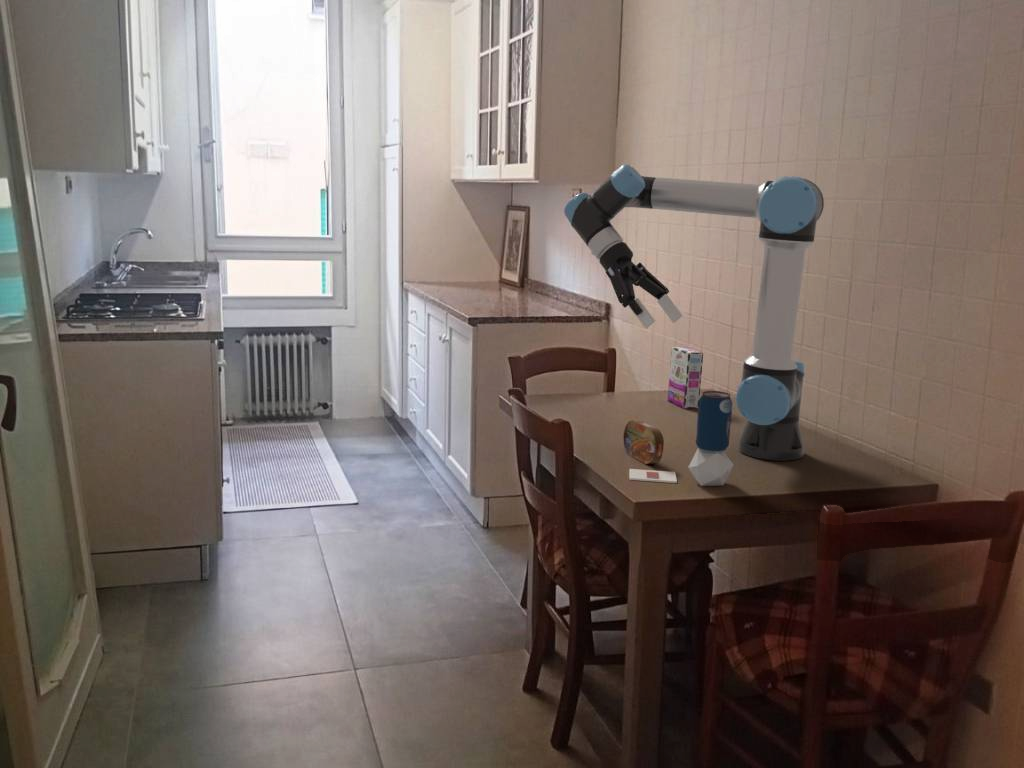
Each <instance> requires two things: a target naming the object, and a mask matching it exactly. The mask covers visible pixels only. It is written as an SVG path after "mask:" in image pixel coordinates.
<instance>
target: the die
mask: <svg viewBox="0 0 1024 768" xmlns="http://www.w3.org/2000/svg"><path fill="white" fill-rule="evenodd" d="M733 467H734V464H733V462H732V461H731V459H730V458H729V457H728V455H727V454H726V452H725V451H724V452H717V453H715V452H706V451H702V450H700V449H699V448H698V447H697V449H696V450H695V453H694V455H693V457H692V459H691V461H690V463H689V464H688V469H689V471H690V472H691V475H693V477H694V479H695V480H696V481H697V482H698V484H699V486H700V487H711V486H712V487H713V486H714V487H715V486H716V487H717V486H724V484H725V483H726V481H727V479H728V477H729V475H730V473H731V471H732V470H733Z"/></svg>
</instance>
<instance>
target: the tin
mask: <svg viewBox="0 0 1024 768" xmlns="http://www.w3.org/2000/svg"><path fill="white" fill-rule="evenodd" d="M622 438H623V447H624V449H625V452H626V454H627V455H628V456H630V457H631V458H633V459H635V460H636V461H639V462H641V463H642V464H644V465H649V464H650V465H653V464H654V465H655V464H657V463H659V462H661V459H662V458H663V452H664V445H665V441H664V436H663V434H662V432H661V430H660V429H658V428H657V427H654V426H652V425H650V424H648V423H646V422H644V421H642V420H641V421H640V420H629V421H628V422H627V424H626V425H625V427H624V430H623V437H622Z"/></svg>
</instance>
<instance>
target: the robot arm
mask: <svg viewBox="0 0 1024 768" xmlns="http://www.w3.org/2000/svg"><path fill="white" fill-rule="evenodd" d="M824 207H825V200H824V195H823V192H822V191H821V189H820V187H819V186H818V185H817V184H816V183H814V182H812V181H811V180H808V179H806V178H802V177H800V176H799V177H798V176H795V175H794V176H783V177H780V178H777V179H775V180H766V181H764V183H762V184H758V183H757V184H756V183H740V182H730V181H729V182H726V181H713V180H711V181H710V180H701V179H699V180H698V179H697V180H696V179H684V178H672V177H671V178H670V177H653V176H643V175H641V174H640V173H639V172H638V171H637V170H636V169H635V168H634V167H633V166H631V165H629V164H627V163H626V164H625V163H624V164H622V165H621V166H620V167H618V168H617V169H616V170H615V171H613V172H612V173H611V175H610V176H609V177H608V178H607V179H606V180H605V181H604V182H603V183H602V184H600V186H598V188H597V189H596V190H595V191H594V192H592V193H591V194H589V193H587V192H581V193H580V192H579V193H578V194H576V195H575V196H574V197H572V198H570V200H568V202H567V203H566V205H565V207H564V208H563V209H564V210H563V212H564V216H565V217H566V219H567V220H568V222H569V223H570V226H571V227H572V228H573V229H574V231H575V232H576V233H577V234H578V235H579V237H580V238H581V240H582V241H583V242H584V243H585V244H586V246H587V247H588V248H589V250H590V251H591V255H592V256H594V257H595V258H596V259H597V260H599V264H600V265H601V267H602V268H603V270H604V271H605V274H606V276H607V277H608V278H609V281H610V283H611V286H612V288H613V290H614V293H615V294H616V298H617V300H618V303H620V304H621V305H622V307H623V308H627V307H628V308H629V309H630V310H631V311H632V313H634V315H635V317H636V318H637V319H638V320H639V322H640V323H641V324H642V326H643V328H645V329H648V328H649V327H651V325H652V324H653V323H655V322H656V319H655V318H654V317H653V316H652V314H651V313H650V312H649V310H648V308H647V307H646V306H645V305H644V304H643V302H642V301H641V300H640V298H638V297H636V294H635V290H634V287H635V286H636V287H640V288H641V289H642V290H644V291H645V292H647V293H648V294H650V295H651V296H652V297H654V298H655V299H656V300H657V301H656V302H657V303H658V305H659V306H660V307H661V308H662V310H663V312H664V313H665V314H666V315H667V317H668V318H669V319H670V321H671V322H672V324H675V323H676V322H677V321H678V320H680V319H681V318H682V317H683V313H681V311H680V310H679V309H678V307H677V306H676V305H675V304H674V302H673V301H672V300H671V298H670V297H669V295H668V294H669V293H670V290H669V288H668V287H667V286H666V285H664V284H663V283H662V282H661V281H660V280H659V279H658V278H657V277H655V276H654V275H653V274H652V273H651V272H650V271H649V270H648V269H646V267H645V266H644V265H643V263H641V262H638V263H637V264H635V263H634V262H632V259H633V256H634V251H632V250H631V248H630V246H629V245H627V242H625V241H624V239H623V237H622V236H621V235H620V233H619V232H618V230H616V229H615V227H614V226H613V225H612V223H611V221H612V219H614V218H615V217H616V216H617V215H618V214H619V213H620V212H621V211H622V210H623V209H624V208H625V209H626V208H636V209H637V208H638V209H649V210H650V209H651V210H661V211H662V210H664V211H674V212H686V213H697V214H698V213H699V214H707V215H708V214H709V215H720V216H732V217H743V218H754V219H758V221H759V222H760V223H759V224H760V225H759V233H758V239H759V241H760V242H761V243H762V245H763V246H764V250H763V257H762V258H763V261H762V266H761V267H762V268H761V275H760V276H761V277H760V284H759V292H758V301H757V309H756V317H755V324H754V325H755V326H754V334H753V341H752V349H751V350H752V351H751V354H750V355H749V356H748V357H747V358H744V361H743V367H742V374H741V375H742V376H741V382H740V383H739V386H738V387H737V390H736V394H735V402H736V407H737V409H738V411H739V413H740V415H741V416H742V417H744V419H746V420H747V422H746V425H745V427H744V429H743V431H742V434H741V435H740V438H739V441H738V451H739V452H740V453H742V454H743V455H746V456H749V457H752V458H756V459H761V460H767V461H778V462H779V461H780V462H783V461H784V462H787V461H797V460H800V459H801V458H803V457H804V450H805V446H804V441H803V438H802V437H803V436H802V434H801V433H802V432H801V427H800V415H801V404H802V393H803V385H804V377H805V374H806V373H805V365H804V362H802V361H800V360H794V359H793V358H792V357H793V356H792V354H793V347H794V343H795V342H794V341H795V340H794V339H795V331H796V325H797V316H798V310H799V303H800V302H799V301H800V294H801V287H802V279H803V273H804V271H803V270H804V264H805V255H806V250H807V249H808V248H810V246H812V245H813V244H814V243H815V237H816V236H815V235H816V228H817V222H818V220H819V219H820V218H821V215H822V213H823V211H824Z"/></svg>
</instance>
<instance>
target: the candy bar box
mask: <svg viewBox="0 0 1024 768" xmlns="http://www.w3.org/2000/svg"><path fill="white" fill-rule="evenodd" d="M703 362H704V352H702V351H698V350H696V349H692V348H690V347H686V346H671V353H670V365H669V375H668V376H669V378H668V389H667V390H668V391H667V402H669V403H671V404H674V405H676V406H677V407H680V408H682V409H683V410H687V409H688V410H690V409H693V410H695V409H697V410H698V406H699V399H700V398H701V396H700V395H701V387H702V386H701V383H702V373H703Z"/></svg>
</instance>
